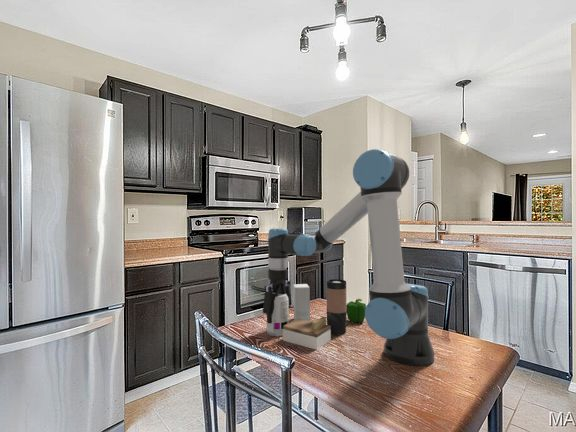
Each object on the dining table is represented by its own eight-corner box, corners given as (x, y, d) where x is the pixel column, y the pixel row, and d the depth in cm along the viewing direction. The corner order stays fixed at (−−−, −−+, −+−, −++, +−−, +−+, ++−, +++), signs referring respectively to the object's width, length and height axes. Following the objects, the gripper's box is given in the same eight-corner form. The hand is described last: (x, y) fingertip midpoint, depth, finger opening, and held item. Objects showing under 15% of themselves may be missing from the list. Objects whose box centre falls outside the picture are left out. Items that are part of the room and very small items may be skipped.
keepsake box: (330, 341, 112) (330, 329, 112) (317, 350, 104) (317, 337, 104) (298, 333, 120) (298, 321, 120) (283, 341, 112) (283, 329, 112)
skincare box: (310, 324, 130) (310, 287, 130) (294, 325, 129) (294, 287, 129) (307, 318, 138) (307, 283, 138) (292, 318, 138) (292, 283, 138)
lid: (330, 327, 112) (330, 317, 112) (317, 336, 104) (317, 325, 104) (298, 320, 120) (298, 310, 120) (283, 328, 112) (283, 317, 112)
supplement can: (269, 338, 115) (269, 297, 115) (265, 330, 123) (265, 292, 123) (290, 336, 117) (291, 296, 117) (285, 329, 125) (285, 291, 125)
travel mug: (350, 334, 119) (350, 282, 119) (332, 337, 116) (332, 283, 116) (339, 328, 126) (339, 278, 126) (323, 330, 123) (323, 279, 123)
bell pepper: (342, 320, 136) (342, 297, 136) (356, 317, 140) (356, 294, 140) (354, 325, 129) (354, 301, 129) (369, 322, 133) (369, 299, 133)
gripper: (285, 264, 131) (285, 318, 130) (252, 271, 113) (252, 333, 113) (300, 266, 126) (300, 322, 126) (268, 273, 109) (268, 338, 109)
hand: (277, 327), depth 120 cm, fingers closed on supplement can, 8 cm apart
